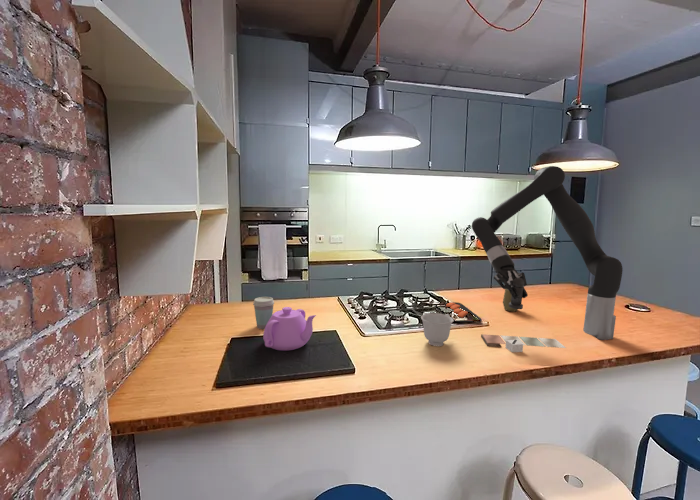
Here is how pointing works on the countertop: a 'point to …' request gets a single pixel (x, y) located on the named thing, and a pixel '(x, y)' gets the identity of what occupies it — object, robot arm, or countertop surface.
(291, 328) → the teapot
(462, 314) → the sushi plate
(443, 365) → the countertop surface
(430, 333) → the teacup
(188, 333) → the countertop surface
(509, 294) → the squeeze bottle
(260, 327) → the coffee cup
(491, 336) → the board
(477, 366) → the countertop surface
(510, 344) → the die
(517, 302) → the pawn
